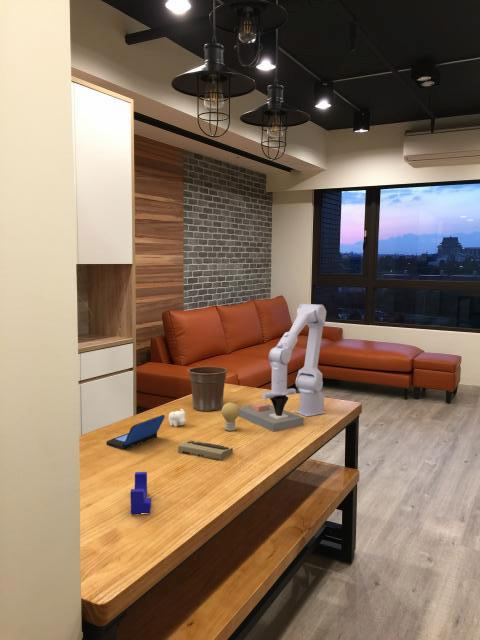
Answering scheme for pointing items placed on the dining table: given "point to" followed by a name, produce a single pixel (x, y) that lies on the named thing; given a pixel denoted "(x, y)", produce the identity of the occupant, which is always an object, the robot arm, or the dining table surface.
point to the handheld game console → (138, 434)
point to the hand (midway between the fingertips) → (278, 415)
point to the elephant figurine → (177, 418)
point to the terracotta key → (260, 406)
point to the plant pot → (207, 387)
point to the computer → (205, 450)
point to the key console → (270, 418)
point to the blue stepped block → (140, 495)
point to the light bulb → (230, 415)
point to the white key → (278, 416)
